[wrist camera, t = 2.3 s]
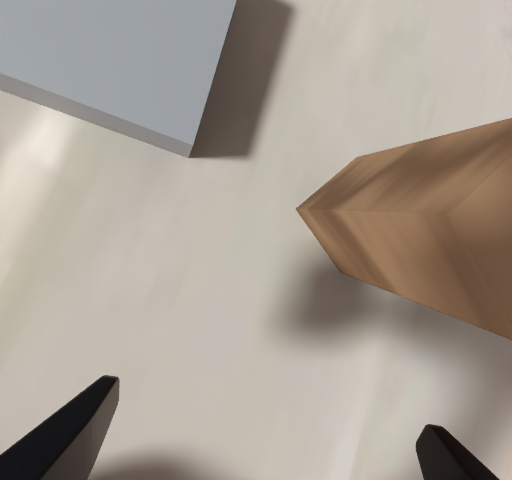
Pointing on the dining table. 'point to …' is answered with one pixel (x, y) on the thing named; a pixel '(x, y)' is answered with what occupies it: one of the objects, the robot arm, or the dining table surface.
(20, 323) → the dining table surface
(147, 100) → the grey slab
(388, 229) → the walnut block
